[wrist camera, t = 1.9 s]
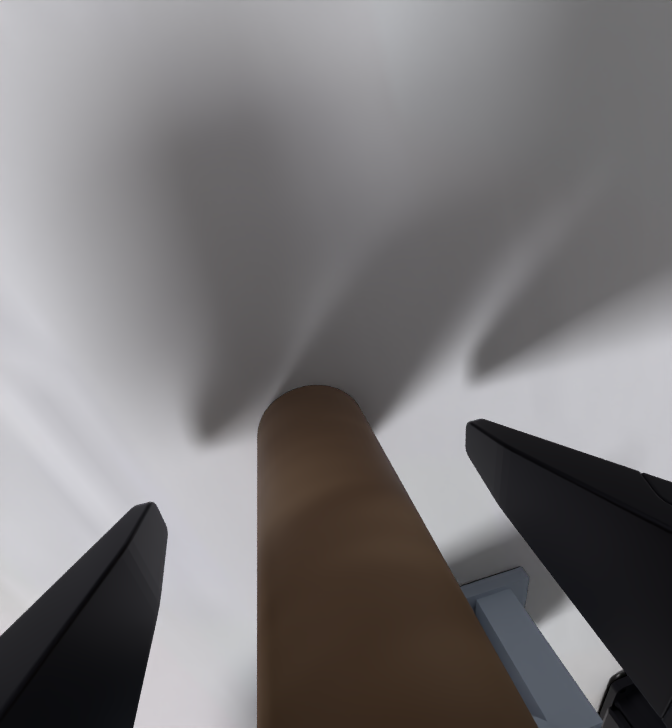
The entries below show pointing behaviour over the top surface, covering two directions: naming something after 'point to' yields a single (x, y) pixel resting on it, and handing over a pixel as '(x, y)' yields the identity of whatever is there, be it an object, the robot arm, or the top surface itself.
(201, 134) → the top surface
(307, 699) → the peg
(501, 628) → the cradle
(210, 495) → the top surface
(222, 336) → the top surface
